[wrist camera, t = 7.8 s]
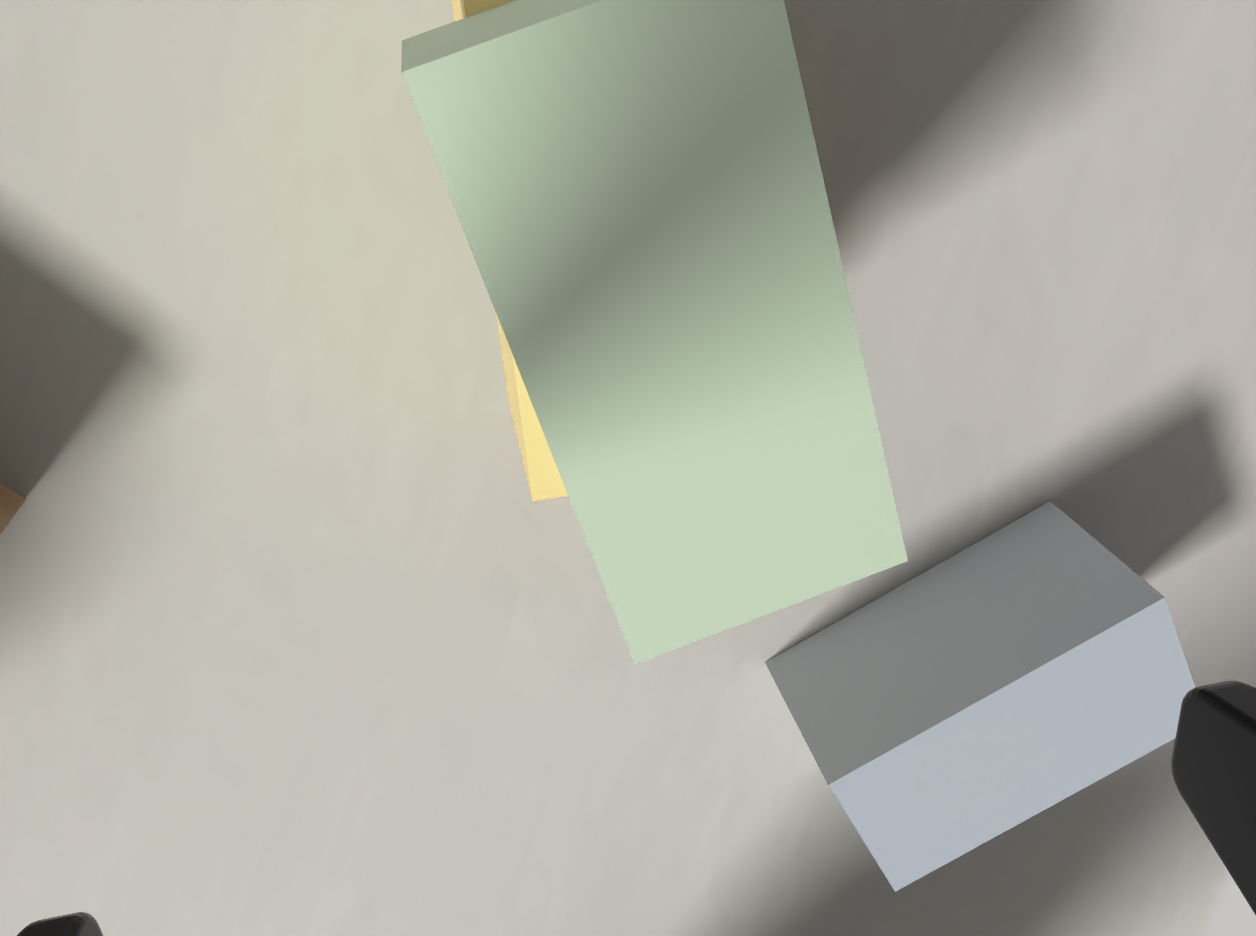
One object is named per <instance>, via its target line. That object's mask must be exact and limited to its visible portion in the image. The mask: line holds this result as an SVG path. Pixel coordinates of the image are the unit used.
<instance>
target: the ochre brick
mask: <svg viewBox="0 0 1256 936" xmlns="http://www.w3.org/2000/svg"><path fill="white" fill-rule="evenodd" d="M511 1H514V0H452V6H453V13H454V20H455V21H458V20H461V19H464V18H467V17H469V16H472V15H475V14H478V13H480V12H483V11H486V10H489V9H492V8H494V7H497V6H500V5H503V4H506V3H508V2H511ZM496 315H497V314H496ZM497 322H498V329H499V336H500V343H501V350H502V357H503V364H504V371H505V378H506V385H507V392H508V399H509V405H510V409H511V414H512V418H513V422H514V426H515V430H516V435H517V439H518V443H519V447H520V451H521V456H522V460H523V464H524V468H525V472H526V477H527V481H528V485H529V489H530V493H531V498H532V502H533V501H539V500H545V499H551V498H557V497H564V496H568V494H567V491H566V489H565V486H564V484H563V481H562V479H561V476H560V474H559V471H558V469H557V466H556V464H555V461H554V458H553V456H552V453H551V451H550V448H549V446H548V443H547V441H546V438H545V436H544V433H543V430H542V428H541V425H540V423H539V420H538V418H537V415H536V413H535V410H534V408H533V405H532V402H531V400H530V397H529V395H528V392H527V390H526V387H525V385H524V382H523V380H522V377H521V375H520V372H519V369H518V367H517V364H516V362H515V359H514V357H513V354H512V352H511V349H510V347H509V344H508V341H507V339H506V336H505V334H504V331H503V329H502V326H501V324H500V321H499V319H498V316H497Z"/></svg>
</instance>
